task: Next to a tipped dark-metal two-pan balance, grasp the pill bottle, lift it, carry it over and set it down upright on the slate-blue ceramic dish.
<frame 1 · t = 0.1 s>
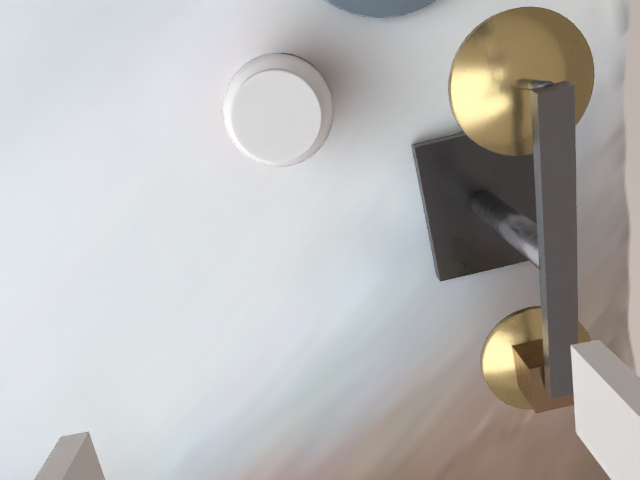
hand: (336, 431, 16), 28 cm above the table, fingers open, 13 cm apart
balance: (478, 199, 43), on the table
pill bottle: (282, 100, 41), on the table
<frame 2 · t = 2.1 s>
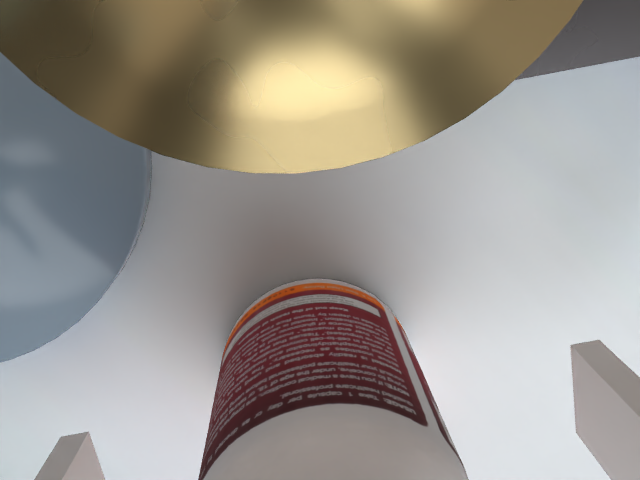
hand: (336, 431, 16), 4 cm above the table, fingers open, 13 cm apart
pill bottle: (316, 356, 20), on the table
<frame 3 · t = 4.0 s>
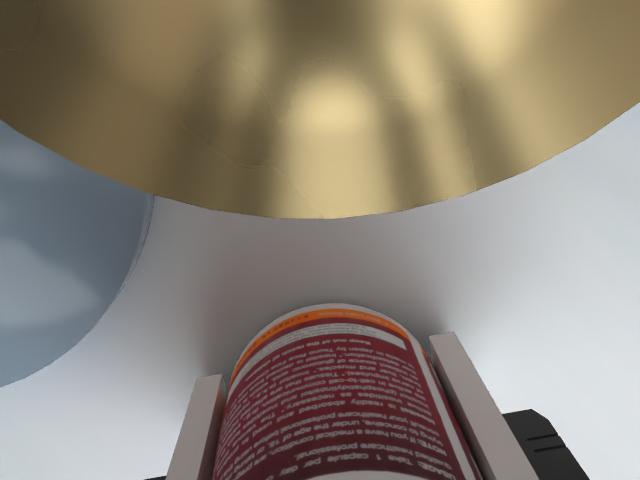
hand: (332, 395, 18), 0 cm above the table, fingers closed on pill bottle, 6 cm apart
pill bottle: (332, 387, 18), on the table, touching gripper
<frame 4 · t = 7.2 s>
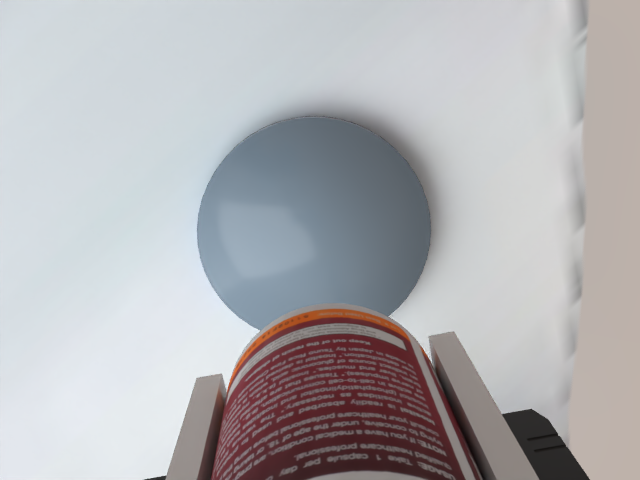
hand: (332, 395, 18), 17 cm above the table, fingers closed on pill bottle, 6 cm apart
pill bottle: (332, 387, 18), point 17 cm above the table, touching gripper
dish: (314, 230, 35), on the table
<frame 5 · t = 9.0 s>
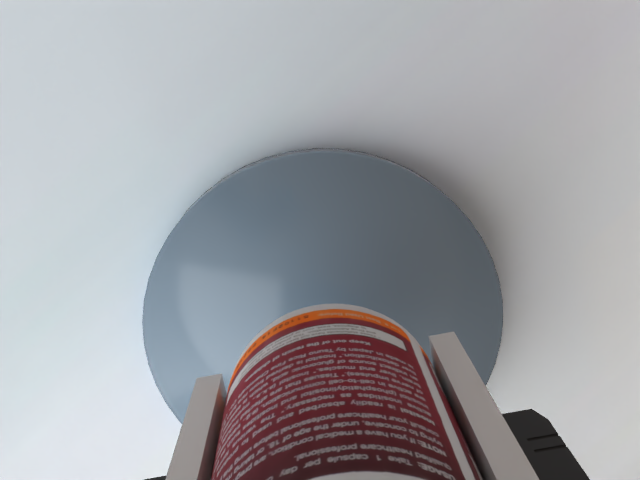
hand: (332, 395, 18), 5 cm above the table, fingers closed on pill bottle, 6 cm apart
pill bottle: (332, 387, 18), point 5 cm above the table, touching gripper
dish: (323, 319, 23), on the table
when the fingers open (3 cm above the table, at t = 10.4 s): pill bottle drops 1 cm, resting on dish.
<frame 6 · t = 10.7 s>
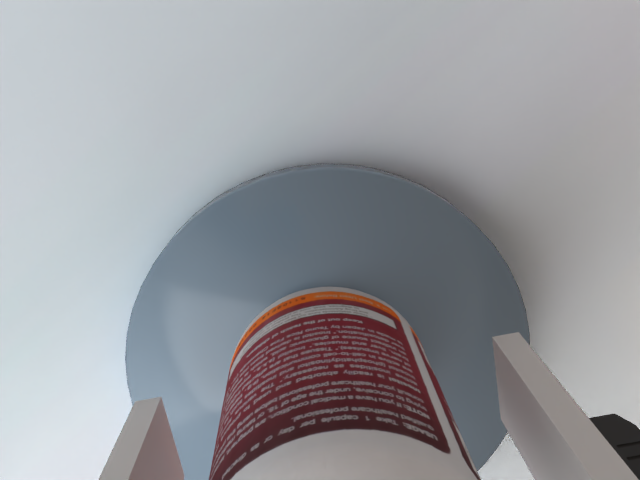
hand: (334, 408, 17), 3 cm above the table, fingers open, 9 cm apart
pill bottle: (328, 366, 20), point 1 cm above the table, touching dish
dish: (328, 352, 21), on the table
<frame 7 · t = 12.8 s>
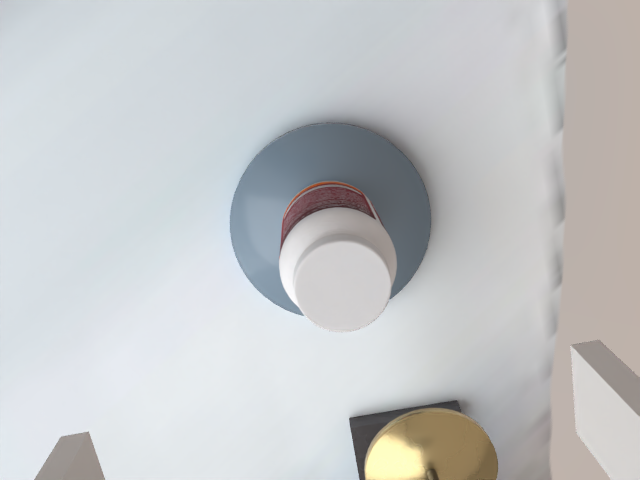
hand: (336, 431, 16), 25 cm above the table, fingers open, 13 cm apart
balance: (411, 466, 46), on the table
pill bottle: (329, 225, 39), point 1 cm above the table, touching dish
dish: (330, 221, 40), on the table
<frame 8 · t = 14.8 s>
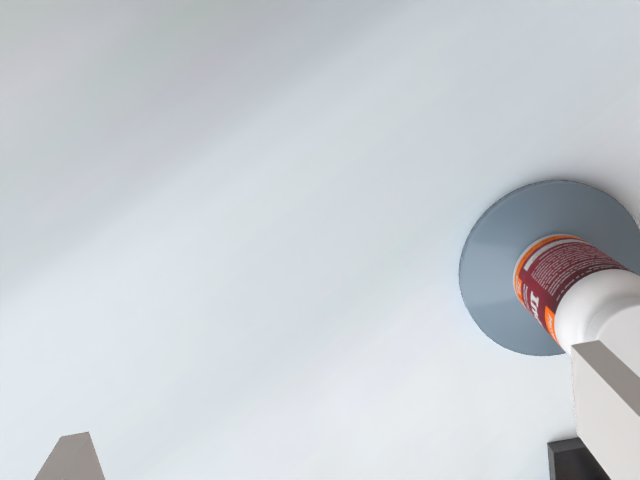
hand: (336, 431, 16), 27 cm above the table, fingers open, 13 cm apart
pill bottle: (551, 272, 43), point 1 cm above the table, touching dish
dish: (547, 267, 44), on the table
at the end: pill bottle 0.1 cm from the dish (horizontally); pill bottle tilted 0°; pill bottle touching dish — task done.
